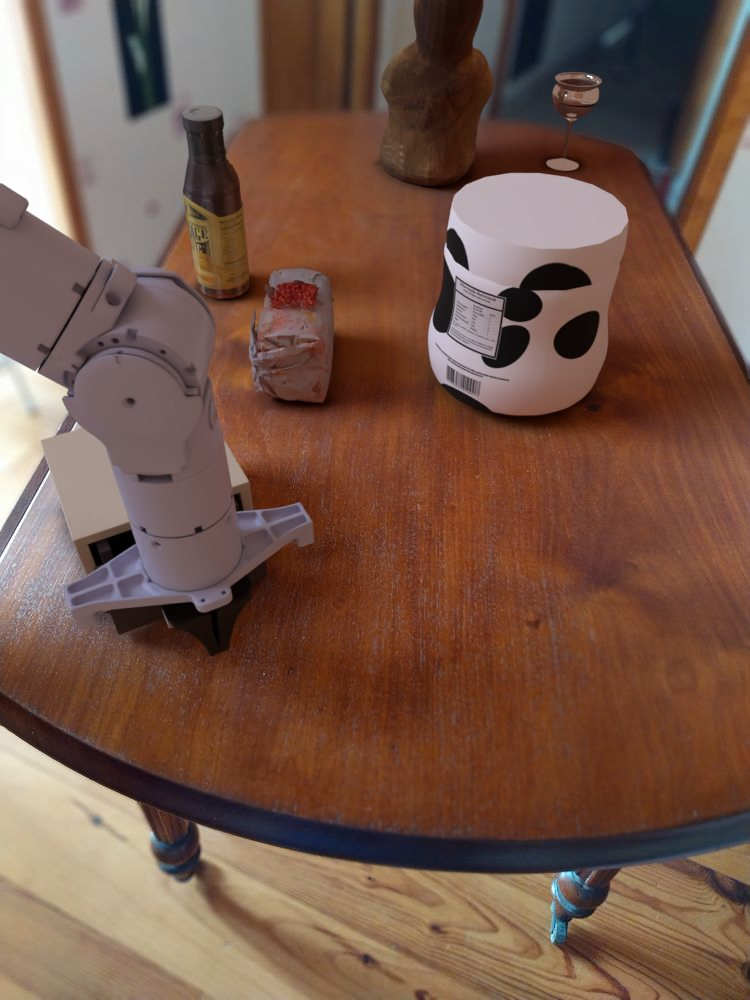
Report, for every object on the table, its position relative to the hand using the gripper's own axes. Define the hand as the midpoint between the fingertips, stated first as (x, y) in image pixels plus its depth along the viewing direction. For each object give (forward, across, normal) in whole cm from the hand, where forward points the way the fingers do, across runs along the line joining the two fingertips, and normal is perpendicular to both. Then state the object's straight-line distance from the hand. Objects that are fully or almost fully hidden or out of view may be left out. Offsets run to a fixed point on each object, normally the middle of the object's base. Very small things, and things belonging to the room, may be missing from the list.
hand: (215, 641), depth 50 cm
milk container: (+3, +38, +19) cm, 42 cm away
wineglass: (+3, +78, +62) cm, 99 cm away
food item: (+3, +19, +30) cm, 36 cm away
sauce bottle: (+3, +18, +49) cm, 52 cm away
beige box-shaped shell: (+3, 0, +14) cm, 15 cm away
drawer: (+2, 0, +9) cm, 9 cm away
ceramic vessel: (+3, +57, +67) cm, 88 cm away
